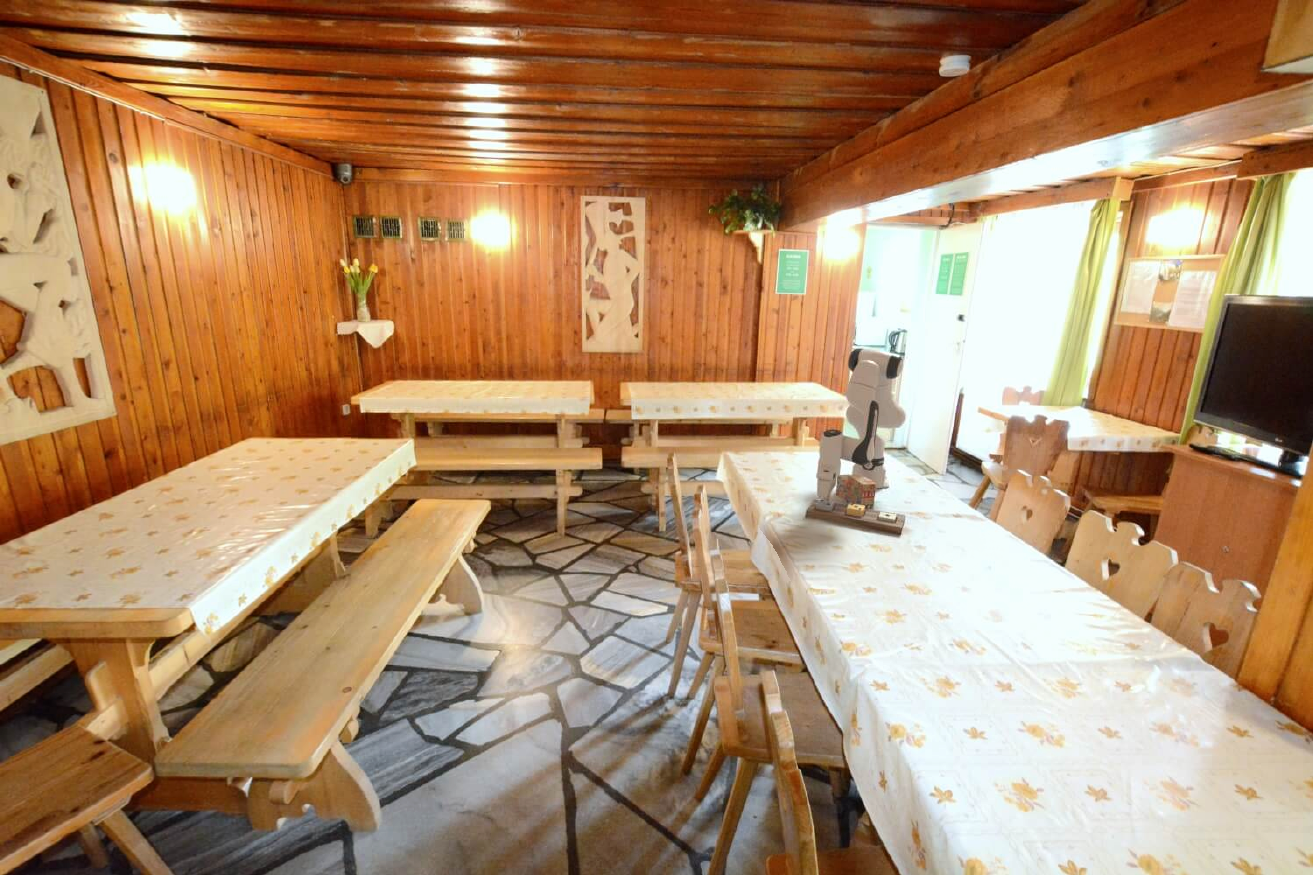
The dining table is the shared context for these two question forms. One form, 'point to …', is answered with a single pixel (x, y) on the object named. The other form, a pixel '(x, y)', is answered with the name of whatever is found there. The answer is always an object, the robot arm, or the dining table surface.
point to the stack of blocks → (856, 490)
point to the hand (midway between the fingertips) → (825, 502)
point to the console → (856, 518)
